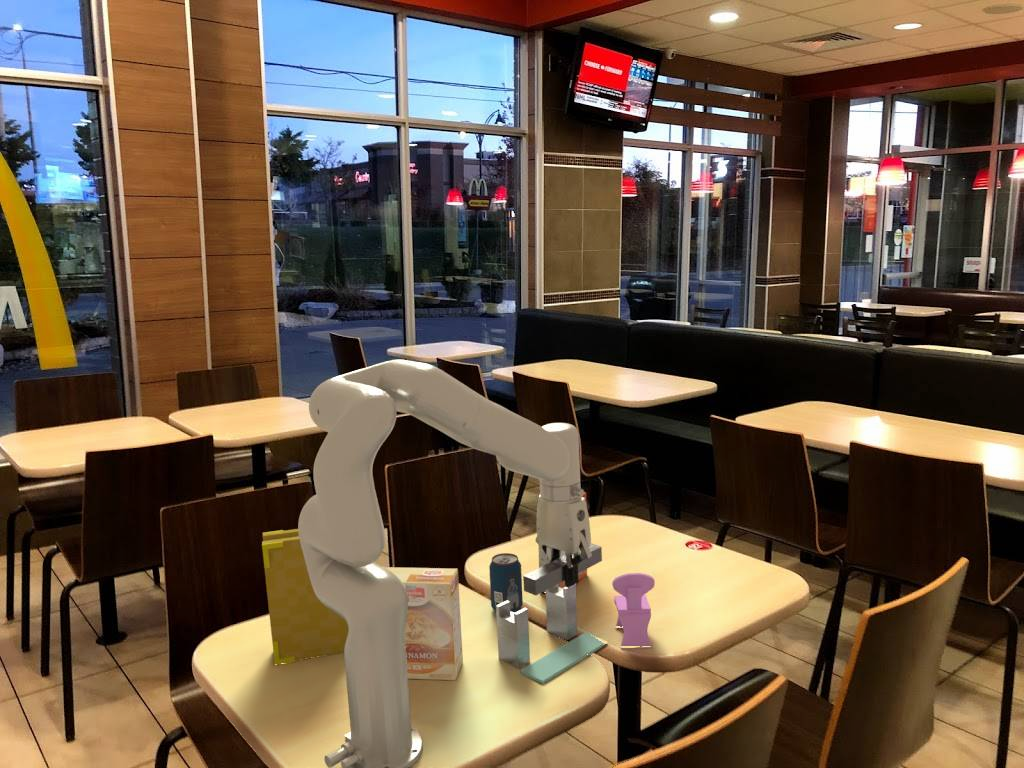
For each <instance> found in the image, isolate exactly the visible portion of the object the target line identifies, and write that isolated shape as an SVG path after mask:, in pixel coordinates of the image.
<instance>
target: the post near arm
mask: <svg viewBox="0 0 1024 768" xmlns="http://www.w3.org/2000/svg"><path fill="white" fill-rule="evenodd" d="M495 614H496V633H497V636H496V637H497V650H498V651H497V652H498V653H497V654H498V659H499V660H501V661H504V662H505V663H508V664H509V665H511V666H513V667H515V668H517V669H520V668H522V667H524V666H526V665H527V664H529V663H531V654H530V653H531V652H530V651H531V650H530V648H531V647H530V624H529V609H528V608H527V607H523V608H521V609H520V610H519V611H517V612H515V613H514V612H511V611H510V601H508V600H507V601H505V602H503V603H501V604H499V605H497V606H496V613H495Z"/></svg>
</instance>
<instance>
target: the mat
mask: <svg viewBox="0 0 1024 768" xmlns="http://www.w3.org/2000/svg"><path fill="white" fill-rule="evenodd" d="M591 635H592V636H591ZM593 635H594V634H591V633H588V632H586V633H585V632H584V633H582V634H580V635H578V636H576V637H574V638H573V639H571V640H570V641H568V642H566V643H564V644H563V645H561V646H559V647H558V648H556V649H554V650H553V651H551V652H549V653H548V654H545V655H544V656H543V657H541V658H539V659H538V660H536V661H534V662H532V663H530V664H529V665H528V666H526V667H524V668H522V669H520V674H521V675H524V676H525V677H527V678H530V679H532V680H533V681H535V682H537V683H540V684H542V685H544V684H545V683H547V682H549V681H550V680H552V679H553V678H555V677H557V676H558V675H560V674H561V673H563V672H564V671H566V670H567V669H569V668H571V667H573V666H574V665H576V664H577V663H579V662H581V661H582V660H584V659H585V658H587V657H590V655H592V654H593V653H595V652H597V651H598V650H600V649H602V648H603V647H604V646H603V644H604V643H602V642H601V641H599V640H598V639H596V638H595V637H593ZM602 646H603V647H602ZM587 654H588V655H587Z"/></svg>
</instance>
